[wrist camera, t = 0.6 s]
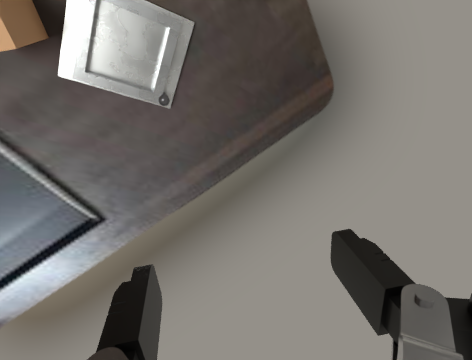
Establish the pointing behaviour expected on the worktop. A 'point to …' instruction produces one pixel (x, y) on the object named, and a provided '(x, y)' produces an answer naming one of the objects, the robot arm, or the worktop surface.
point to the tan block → (19, 24)
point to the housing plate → (124, 47)
